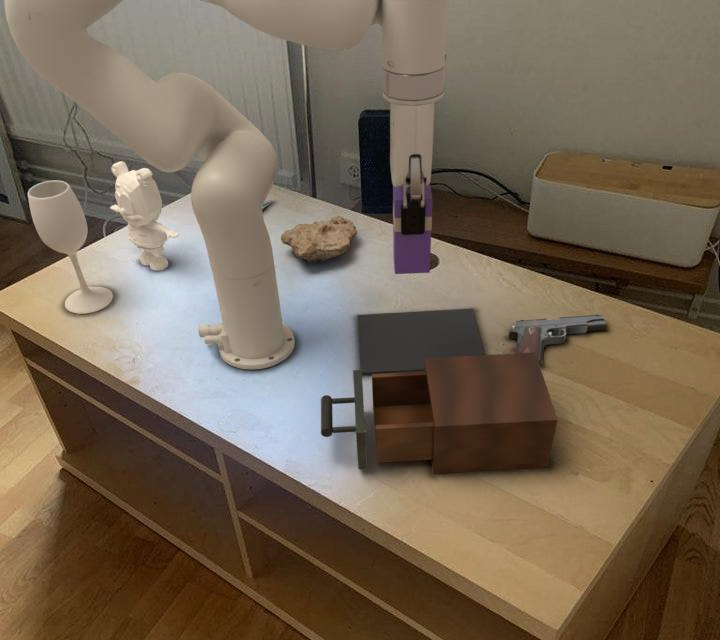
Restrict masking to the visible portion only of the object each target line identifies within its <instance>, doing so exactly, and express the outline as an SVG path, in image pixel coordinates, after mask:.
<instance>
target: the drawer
mask: <svg viewBox="0 0 720 640" xmlns="http://www.w3.org/2000/svg"><path fill="white" fill-rule="evenodd" d="M352 372H353V373H352V375H353V376H352V377H353V394H354V395H353V397H336V398H334V397H332V396H331V395H330V394H329V395H328V394H325V395H322V396H321V398H320V434H321V436H322V437H324V438H330V437H332V435H334V434H341V433H355V436H356V453H357V455H356V456H357V469H358V470H367V469H368V460H367V459H368V458H367V441H366V440H367V439H366V424H365V423H366V421H365V419H366V418H365V403H364V389H363V388H364V385H363V375H362V370H361V369H353V370H352ZM371 392H372V394H371V395H372V413H373V429H374V442H375V455H376V463H390V462H391V463H393V462H410V461H431V459H433V441H434V423H433V416H432V410H431V403H430V397H429V390H428V384H427V378H426V371H421V372H402V373H384V374H372V375H371ZM340 404H341V405H342V404H343V405H344V404H354V417H355V418H354V419H355V425H349V426H348V425H347V426H346V425H345V426H334V425H333V420H334V419H333V405H340Z"/></svg>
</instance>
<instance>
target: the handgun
mask: <svg viewBox="0 0 720 640" xmlns="http://www.w3.org/2000/svg"><path fill="white" fill-rule="evenodd" d="M606 327H607V323H606V319H605V317H604V315H603V314H592V315H578V316H563V317H561V316H560V317H559V319H547V318H538V319H526V320H525V319H520V320H516V321H515V323H514V325H511V329H509V331H508V337H507V338H508V339H514V340H516V346H515V347H516V351H515V353H532V352H535V353H536V356H537V359H538V362H539V365H543V364H544V363H545V360H543V359H544V358H543V357H544V347H545V346H547V345H556V344H557V345H558V344H563V343H564V342H565V341H566V338H567V335H573V334H575V335H576V334H587V332H591V331H593V332H594V331H604V330H606Z"/></svg>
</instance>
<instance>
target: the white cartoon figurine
mask: <svg viewBox="0 0 720 640" xmlns="http://www.w3.org/2000/svg"><path fill="white" fill-rule="evenodd" d="M110 171H111V173H112V174H113V175H114V177H116V179H115V180H116V181H115V185H114V188H115V192H114V197H115V201H116V204H113V205H111V206H110V207H109V209H111V210H112V211H114V212H117V213H119V214H120V215H121V216H122V219H123V220H124V221H125V222H126V223H127V233H128V240H129V241H130V242H131V243H133V244H134V246H135V248H137V249H138V250H142V251H143V252H141V254H140V258H139V260H140V263H141V265H142V266H149V267H150V269H151V270H153V271H163V270H166V269H167V268H168V266H169V261H168V259H167V258H166V257H165V256H164V255H163V253H164V249H165V248H164V245H165V244H166V242H167V241H168V239H170V238H173V239H176V238H178V237H179V236H180V233H179V232H177V231H175V230H173V229H169V228H167V227H166V226H165V225H164V224H162V223H161V222H158V220H159V218H160V216H161V213H162V210H163V200H162V196H161V193H160V191H159V188H158V185H157V182H156V181H155V180H154V178H153V176H154V175H153V172H152V171H151V170H150V168H147V167H141V168H140V169H138V170H135V169H132V170H130V171H129V167H128V166H127V164H126V162H125V161H121V160H120V161H118V162H115V163H113V164H112V166H110Z"/></svg>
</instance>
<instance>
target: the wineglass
mask: <svg viewBox="0 0 720 640" xmlns="http://www.w3.org/2000/svg"><path fill="white" fill-rule="evenodd" d="M27 199H28V200H27V201H28V206H29V211H30V215H31V218H32V222H33V225H34V227H35V230H36V232H37V234H38V236H39V238H40V240H41V241H42V242H43V244H45V245H46V246H47V247H48V248H50V249H51V250H53V251H56V252H57V253H61V254H65V255H66V256H68V257H69V259H70V261H71V264H72V266H73V268H74V271H75V274H76V277H77V280H78V284H79V286H80V289H77V290H75V291H74V292H72V293H71V294H69V296H67V297H66V299H65V300H64V308H65V309H66V310H67V311H69V313H73V314H78V315H84V314H92V313H95V312H98V311H101V310H103V309H104V308H106V307H107V306H108V305H110V303H112V301H113V299H114V293H113V292H112V291H111V290H110V288H109V289H108V288H106V287H103V286H88V283H87V281H86V279H85V277H84V275H83V271H82V269H81V266H80V263H79V260H78V255H77V253H78V251H79V250H80V249H81V248H82V247H83V246H84V244H85V243H86V240H87V237H88V231H89V228H88V223H87V219H86V216H85V212H84V210H83V208H82V205H81V203H80V201H79V199H78V198H77V196H76V194H75V192H74V190H73V189H72V187H71V185H70V184H69V183H67V182H66V181H64V180H57V179H56V180H53V179H52V180H46V181H42V182H40V183H36V184H35V185H33V186H32V187H30V188H29V189H28V191H27Z"/></svg>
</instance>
